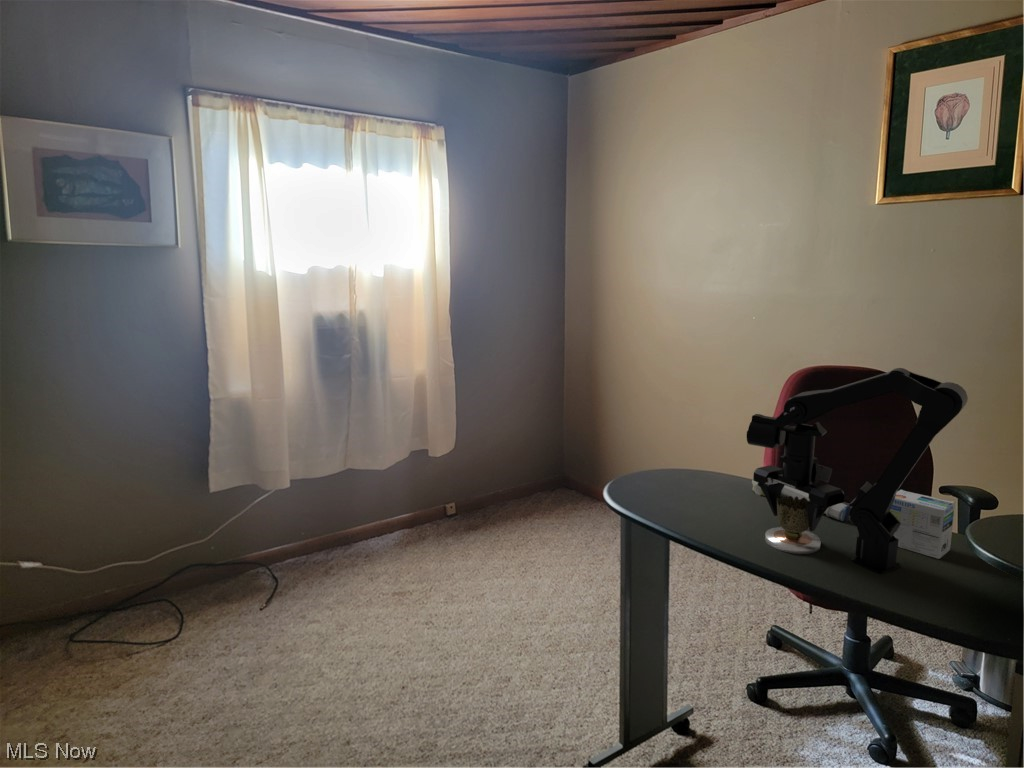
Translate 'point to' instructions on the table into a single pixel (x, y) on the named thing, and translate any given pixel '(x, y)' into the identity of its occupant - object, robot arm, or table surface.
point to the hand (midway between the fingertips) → (793, 522)
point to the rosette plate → (792, 541)
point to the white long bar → (834, 511)
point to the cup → (793, 516)
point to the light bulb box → (923, 523)
